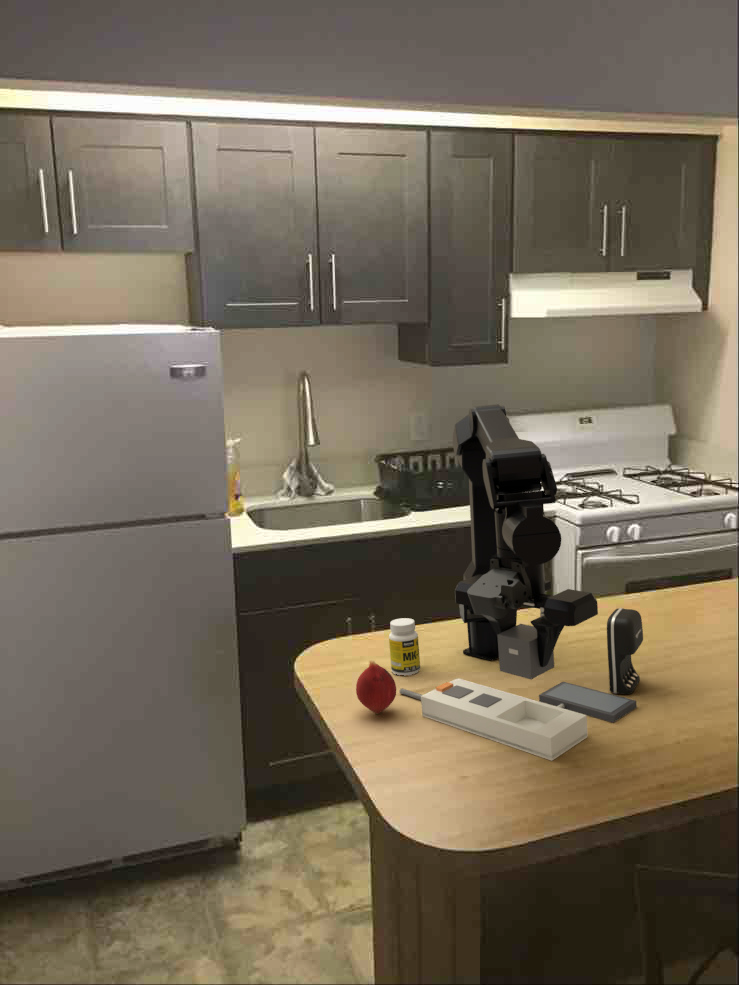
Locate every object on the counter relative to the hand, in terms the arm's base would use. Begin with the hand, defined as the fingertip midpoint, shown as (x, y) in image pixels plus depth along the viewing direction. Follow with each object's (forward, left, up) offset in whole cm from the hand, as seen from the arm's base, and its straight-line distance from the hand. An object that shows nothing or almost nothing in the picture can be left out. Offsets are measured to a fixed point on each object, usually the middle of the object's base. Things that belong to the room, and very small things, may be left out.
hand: (526, 661), depth 109 cm
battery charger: (+2, +21, -11) cm, 23 cm away
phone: (+1, +9, -10) cm, 14 cm away
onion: (-22, -7, -11) cm, 25 cm away
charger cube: (0, 0, -1) cm, 1 cm away
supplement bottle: (-30, +7, -11) cm, 32 cm away
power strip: (-9, 0, -10) cm, 14 cm away
